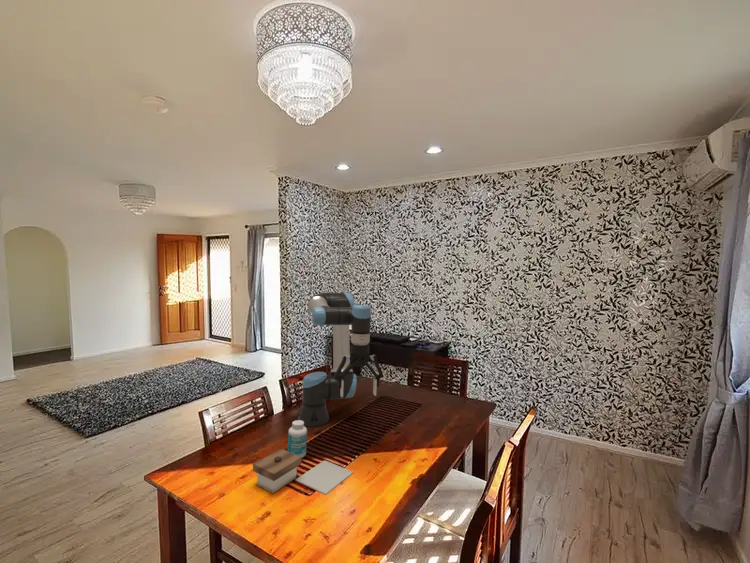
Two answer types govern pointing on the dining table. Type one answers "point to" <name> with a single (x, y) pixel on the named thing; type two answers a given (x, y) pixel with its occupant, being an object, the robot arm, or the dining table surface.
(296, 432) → the pill bottle
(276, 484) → the dish
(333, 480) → the mat
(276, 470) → the cover
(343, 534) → the dining table surface
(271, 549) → the dining table surface
